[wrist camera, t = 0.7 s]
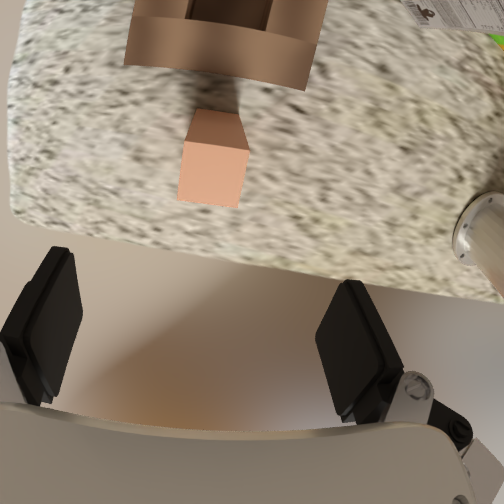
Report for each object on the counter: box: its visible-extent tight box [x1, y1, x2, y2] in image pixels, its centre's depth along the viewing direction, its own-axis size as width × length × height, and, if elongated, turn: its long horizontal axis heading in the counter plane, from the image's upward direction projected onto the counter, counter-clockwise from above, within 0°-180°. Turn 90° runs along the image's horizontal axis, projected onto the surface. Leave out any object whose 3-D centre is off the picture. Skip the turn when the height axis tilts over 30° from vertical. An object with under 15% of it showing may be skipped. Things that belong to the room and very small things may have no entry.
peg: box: [177, 108, 250, 208], centre depth 25 cm, size 4×4×12 cm
